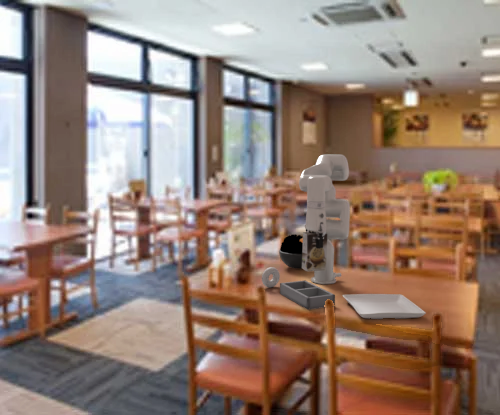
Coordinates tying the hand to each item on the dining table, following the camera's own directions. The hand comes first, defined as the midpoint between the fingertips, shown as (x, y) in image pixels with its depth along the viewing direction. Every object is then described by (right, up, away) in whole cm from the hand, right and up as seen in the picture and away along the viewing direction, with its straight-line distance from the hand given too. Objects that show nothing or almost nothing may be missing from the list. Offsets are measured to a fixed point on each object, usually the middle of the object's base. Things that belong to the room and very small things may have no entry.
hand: (314, 246), depth 219 cm
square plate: (+28, -27, -5) cm, 39 cm away
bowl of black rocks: (-2, -18, +68) cm, 70 cm away
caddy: (-3, -25, +9) cm, 26 cm away
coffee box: (0, -10, +1) cm, 11 cm away
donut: (-18, -22, +28) cm, 40 cm away
